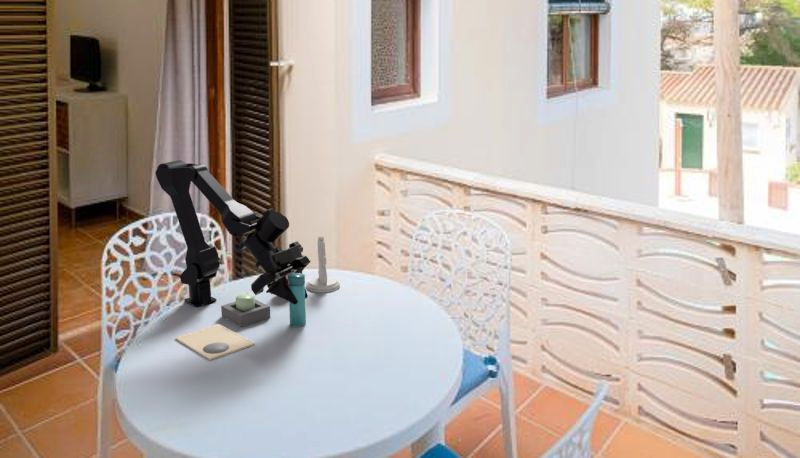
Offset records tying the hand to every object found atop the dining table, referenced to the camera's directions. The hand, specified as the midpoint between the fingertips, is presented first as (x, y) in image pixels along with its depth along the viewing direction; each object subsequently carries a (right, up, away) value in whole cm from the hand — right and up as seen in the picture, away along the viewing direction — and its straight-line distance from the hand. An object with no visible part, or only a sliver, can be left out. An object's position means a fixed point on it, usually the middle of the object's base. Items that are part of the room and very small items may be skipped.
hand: (301, 300), depth 178 cm
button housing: (-15, -5, +6) cm, 17 cm away
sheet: (-20, -9, -9) cm, 23 cm away
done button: (-15, -3, +6) cm, 17 cm away
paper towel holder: (+2, +1, +29) cm, 29 cm away
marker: (-1, -6, +2) cm, 7 cm away
